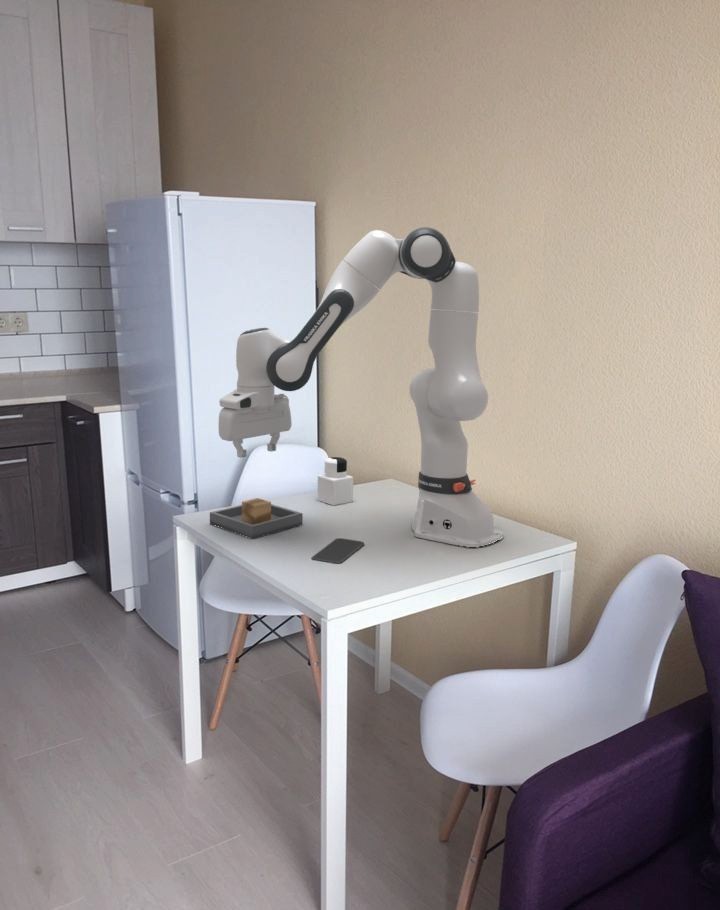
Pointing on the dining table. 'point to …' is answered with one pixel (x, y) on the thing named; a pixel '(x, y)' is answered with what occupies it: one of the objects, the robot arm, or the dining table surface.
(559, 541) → the dining table surface
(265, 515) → the oversize block
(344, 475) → the medicine bottle
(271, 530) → the sorting tray
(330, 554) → the smartphone
